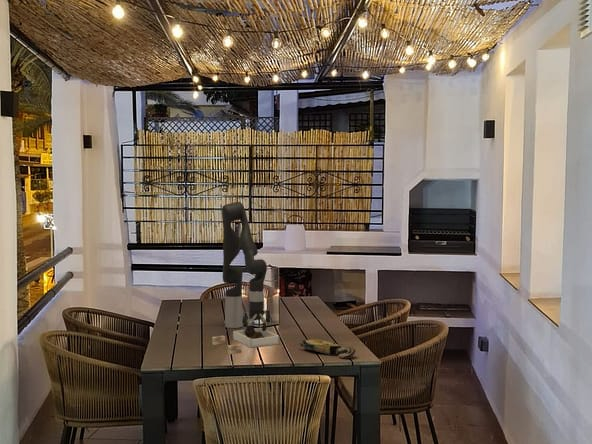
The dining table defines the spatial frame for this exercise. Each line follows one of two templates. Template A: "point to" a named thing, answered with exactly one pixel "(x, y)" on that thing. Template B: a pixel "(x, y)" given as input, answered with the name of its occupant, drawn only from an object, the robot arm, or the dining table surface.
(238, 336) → the tray
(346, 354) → the pulley block
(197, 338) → the dining table surface
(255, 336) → the bolt
